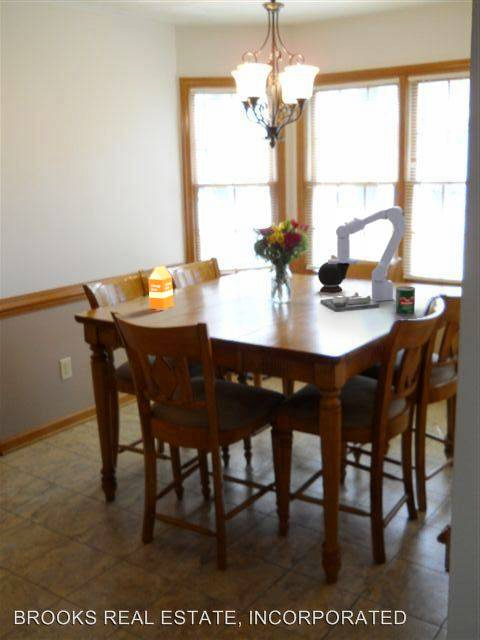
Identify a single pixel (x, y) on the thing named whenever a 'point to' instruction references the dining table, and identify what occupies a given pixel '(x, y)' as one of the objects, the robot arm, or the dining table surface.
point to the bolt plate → (348, 307)
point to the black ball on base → (330, 278)
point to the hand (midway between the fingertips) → (343, 278)
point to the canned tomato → (405, 300)
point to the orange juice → (160, 288)
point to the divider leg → (352, 296)
